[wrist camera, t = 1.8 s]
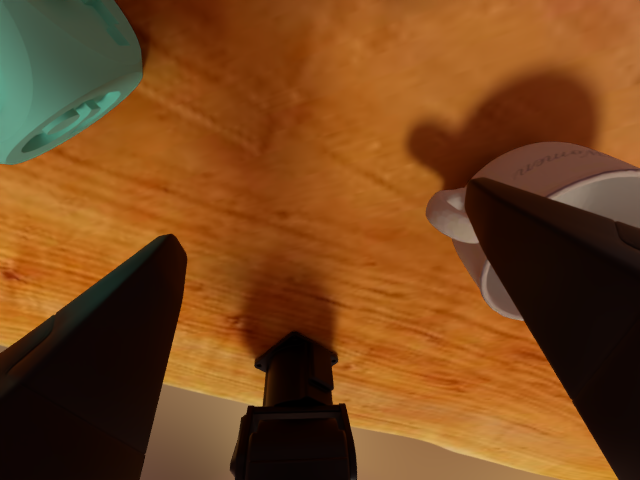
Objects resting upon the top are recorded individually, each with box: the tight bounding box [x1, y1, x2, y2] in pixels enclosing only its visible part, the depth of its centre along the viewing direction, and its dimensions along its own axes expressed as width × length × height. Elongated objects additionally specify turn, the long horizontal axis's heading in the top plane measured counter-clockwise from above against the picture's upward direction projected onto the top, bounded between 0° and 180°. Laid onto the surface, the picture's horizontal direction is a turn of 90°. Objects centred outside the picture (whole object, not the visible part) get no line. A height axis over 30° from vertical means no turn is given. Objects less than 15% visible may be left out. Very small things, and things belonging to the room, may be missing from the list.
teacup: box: [426, 142, 640, 321], centre depth 20 cm, size 14×11×8 cm
